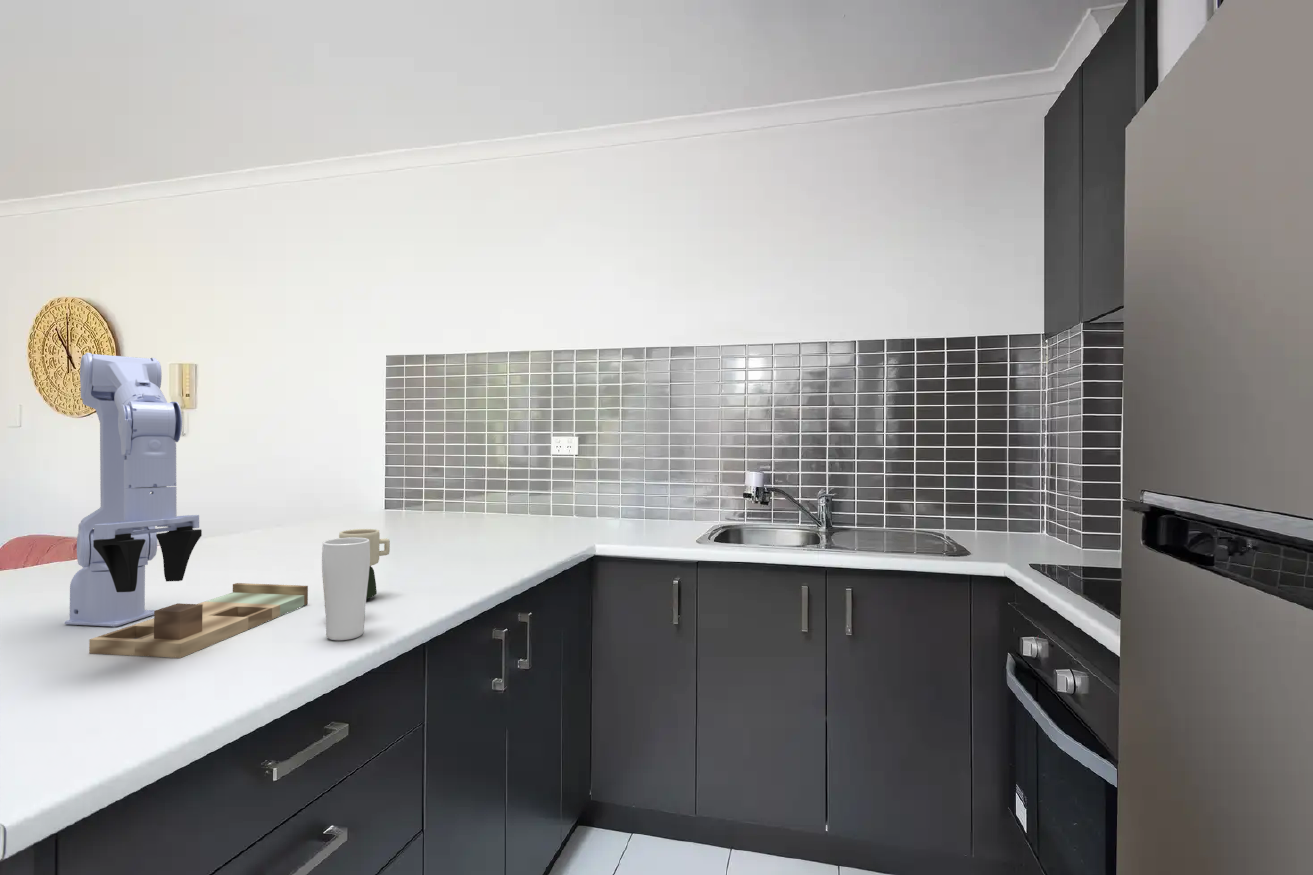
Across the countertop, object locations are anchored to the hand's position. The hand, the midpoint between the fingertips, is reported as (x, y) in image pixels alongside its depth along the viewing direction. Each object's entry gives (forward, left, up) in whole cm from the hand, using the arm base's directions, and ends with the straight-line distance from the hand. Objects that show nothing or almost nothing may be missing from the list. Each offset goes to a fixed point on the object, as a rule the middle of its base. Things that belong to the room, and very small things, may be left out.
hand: (151, 586), depth 88 cm
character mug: (+10, +35, -11) cm, 37 cm away
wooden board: (-4, +16, -10) cm, 19 cm away
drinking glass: (+20, +14, -11) cm, 26 cm away
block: (0, +5, -8) cm, 10 cm away
